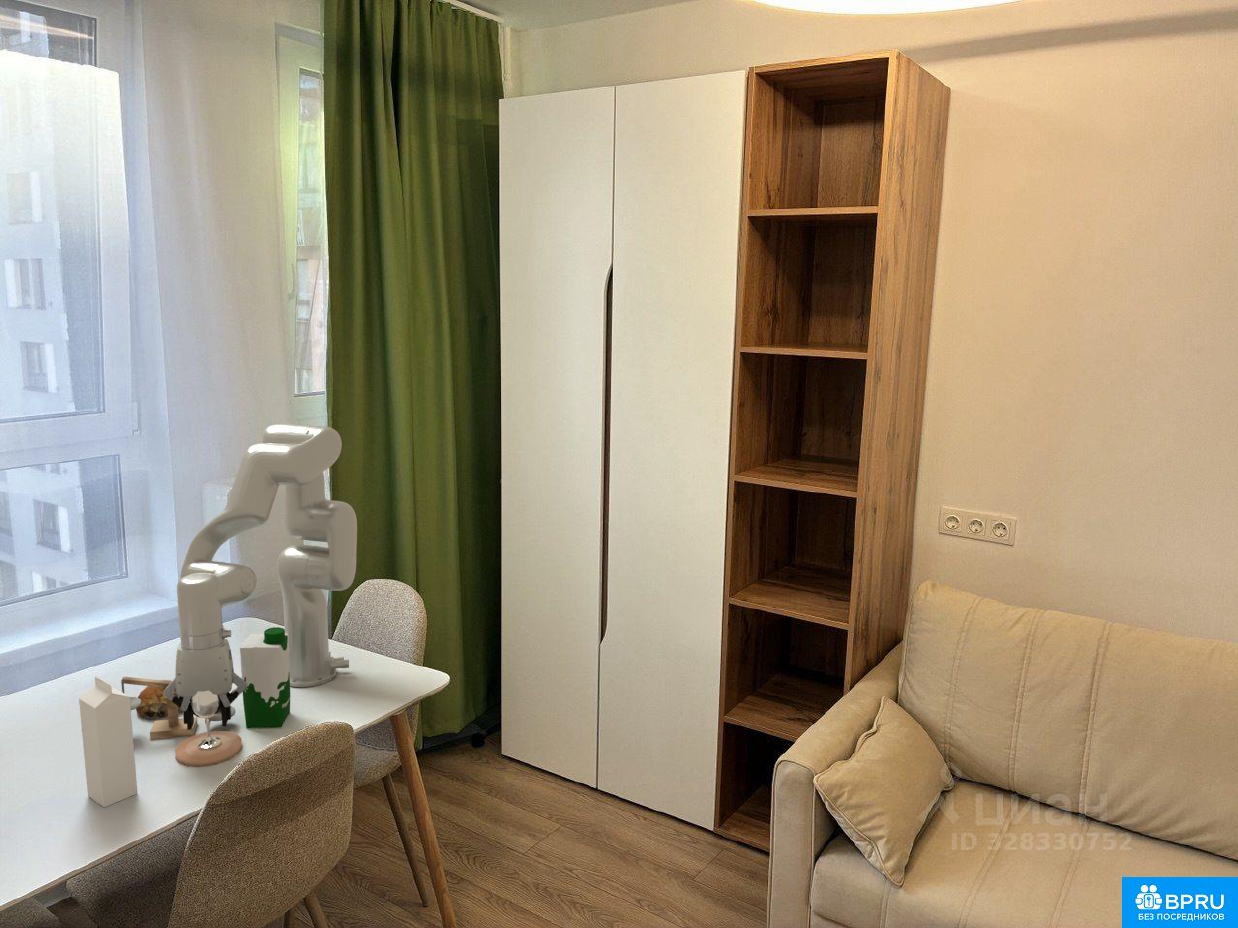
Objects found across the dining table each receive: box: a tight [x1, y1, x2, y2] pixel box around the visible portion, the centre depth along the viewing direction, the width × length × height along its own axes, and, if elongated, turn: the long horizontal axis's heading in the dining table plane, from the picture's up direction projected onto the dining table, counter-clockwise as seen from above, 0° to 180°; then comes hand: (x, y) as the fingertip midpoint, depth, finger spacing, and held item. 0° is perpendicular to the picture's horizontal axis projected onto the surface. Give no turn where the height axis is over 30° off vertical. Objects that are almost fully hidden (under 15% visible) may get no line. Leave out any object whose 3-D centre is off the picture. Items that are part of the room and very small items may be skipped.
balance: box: [120, 676, 236, 740], centre depth 190 cm, size 24×6×12 cm, turn 105°
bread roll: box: [135, 679, 184, 720], centre depth 201 cm, size 10×10×8 cm
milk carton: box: [239, 626, 291, 729], centre depth 195 cm, size 9×9×20 cm
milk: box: [78, 676, 138, 808], centre depth 166 cm, size 6×6×22 cm
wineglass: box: [190, 691, 222, 749], centre depth 183 cm, size 6×6×12 cm
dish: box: [174, 730, 243, 768], centre depth 184 cm, size 12×12×1 cm
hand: (208, 723), depth 183 cm, fingers closed on wineglass, 5 cm apart
